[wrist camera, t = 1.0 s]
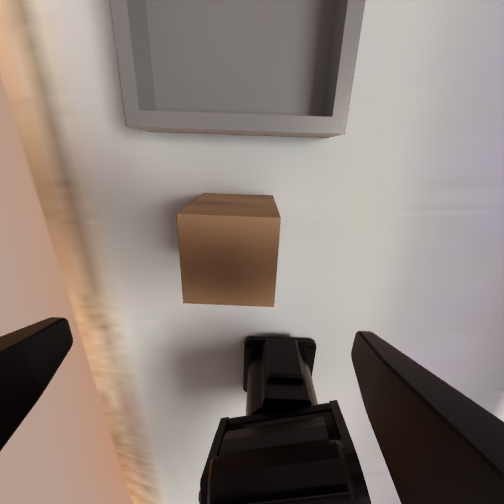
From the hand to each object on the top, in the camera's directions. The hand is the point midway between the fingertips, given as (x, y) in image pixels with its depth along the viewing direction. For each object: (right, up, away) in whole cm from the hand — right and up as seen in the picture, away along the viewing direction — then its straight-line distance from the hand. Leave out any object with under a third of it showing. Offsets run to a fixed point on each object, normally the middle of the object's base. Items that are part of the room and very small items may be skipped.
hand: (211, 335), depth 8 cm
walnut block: (0, +5, +12) cm, 13 cm away
